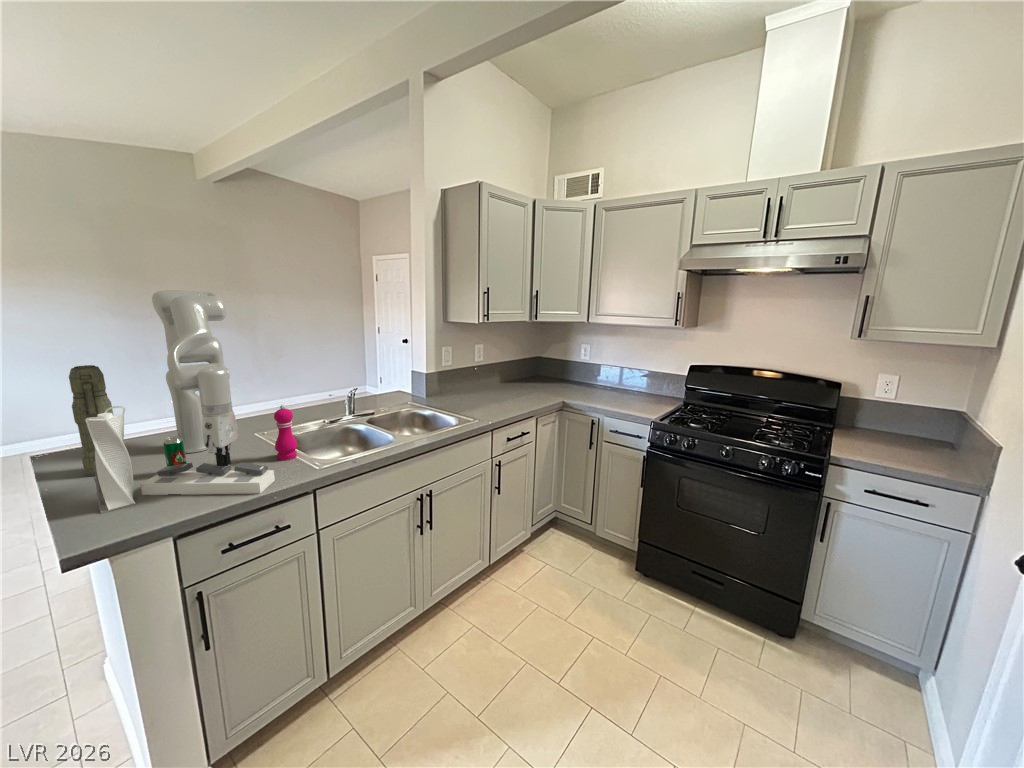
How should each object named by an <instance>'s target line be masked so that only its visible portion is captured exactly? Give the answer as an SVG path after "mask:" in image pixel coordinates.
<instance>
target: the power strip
mask: <svg viewBox="0 0 1024 768" xmlns="http://www.w3.org/2000/svg"><path fill="white" fill-rule="evenodd" d="M275 480H276V479H275V470H272V469H268V470H267V471H266V472H265V473H264V474H262V475H257V474H251V473H250V474H249V475H247V474H246V473H244V472H237V471H234V470H230V471H229V472H227V473H226V474H225V475H221V474H212V475H209V474H208V473H200V472H196V470H187V471H185V472H180V473H176V474H174V475H170V474H168V475H162V476H158V474H157V473H156V475H154V476H152V477H150V478H149V479H146V480H145V481H144V482H141V483H140V488H141V489H140V490H141V495H142V496H160V495H161V496H166V495H168V494H181V495H236V494H237V495H238V494H239V495H240V494H243V495H247V494H249V495H251V494H252V495H254V494H262V493H263V492H264V491H265V490H266V489H268V487H269V486H270V485H272V484H273V483H274V481H275Z"/></svg>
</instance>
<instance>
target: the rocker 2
mask: <svg viewBox="0 0 1024 768" xmlns="http://www.w3.org/2000/svg"><path fill="white" fill-rule="evenodd" d="M267 470H269V466H268V465H263V464H255V463H250V462H249V463H248V462H240V463H237V465H236V466H234V469H233V471H237V472H244V473H246V474H247V475H249V474H250V473H251V474H257V475H262V474H264V473H265V472H266V471H267Z"/></svg>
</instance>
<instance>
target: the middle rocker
mask: <svg viewBox="0 0 1024 768" xmlns="http://www.w3.org/2000/svg"><path fill="white" fill-rule="evenodd" d="M195 471H196V472H200V473H208V474H209V475H212V474H221V475H225V474H226V473H227V472H229V471H232V465H228V466H217V463H207V462H203V463H202V464H200V465H198V466H197V467H196V468H195Z"/></svg>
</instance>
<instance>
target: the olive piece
mask: <svg viewBox="0 0 1024 768" xmlns="http://www.w3.org/2000/svg"><path fill="white" fill-rule="evenodd" d="M68 379H69V386H70V389H71V391H70V392H71V393H72V395H73V396H72V403H71V409H72V414H73V420H74V423H75V424H76V425H77V429H78V433H79V439H80V443H81V448H82V456H81V461H82V462H81V463H82V466H83V468H84V470H85V475H88V476H87V477H96V474H95V470H94V468H95V464H94V462H95V446H94V443H93V441H92V438H91V435H90V433H89V430H88V427H87V424H86V421H85V420H86V418H90V417H98V416H97V415H98V414H102V413H104V412H105V411H106V409H108V408H110V407H113V405H112V401H111V399H110V398H109V397H108V393H107V392H106V390H107V387H106V382H105V381H106V380H105V375H104V372H102V369H100V367H99V366H96V365H93V364H90V365H85V364H84V365H78V366H77V365H76V366H74V367H71V368H70V371H69V374H68ZM107 413H112V415H114V410H113V409H110V410H108V411H107Z"/></svg>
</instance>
